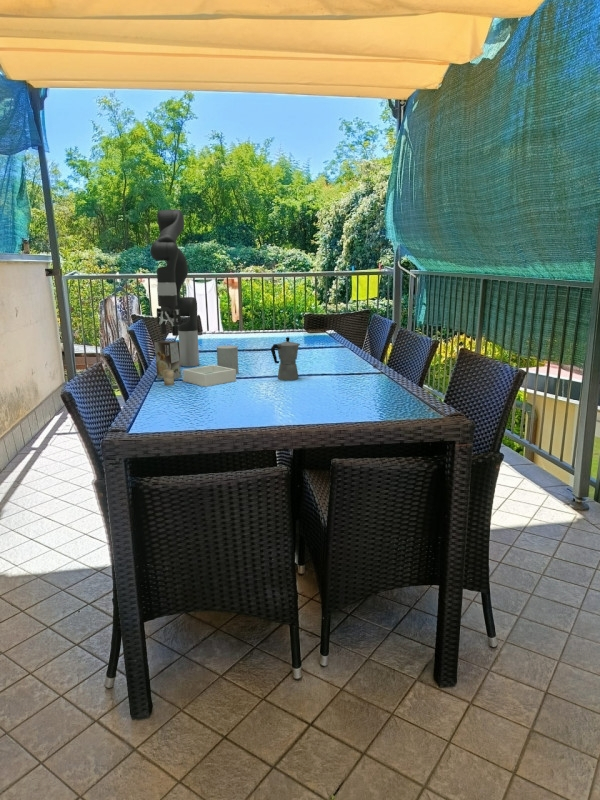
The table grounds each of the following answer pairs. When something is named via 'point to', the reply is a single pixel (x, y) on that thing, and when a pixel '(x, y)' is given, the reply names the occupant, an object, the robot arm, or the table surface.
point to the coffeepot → (286, 360)
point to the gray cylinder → (228, 357)
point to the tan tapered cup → (168, 377)
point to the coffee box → (167, 358)
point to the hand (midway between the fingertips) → (169, 334)
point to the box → (209, 375)
